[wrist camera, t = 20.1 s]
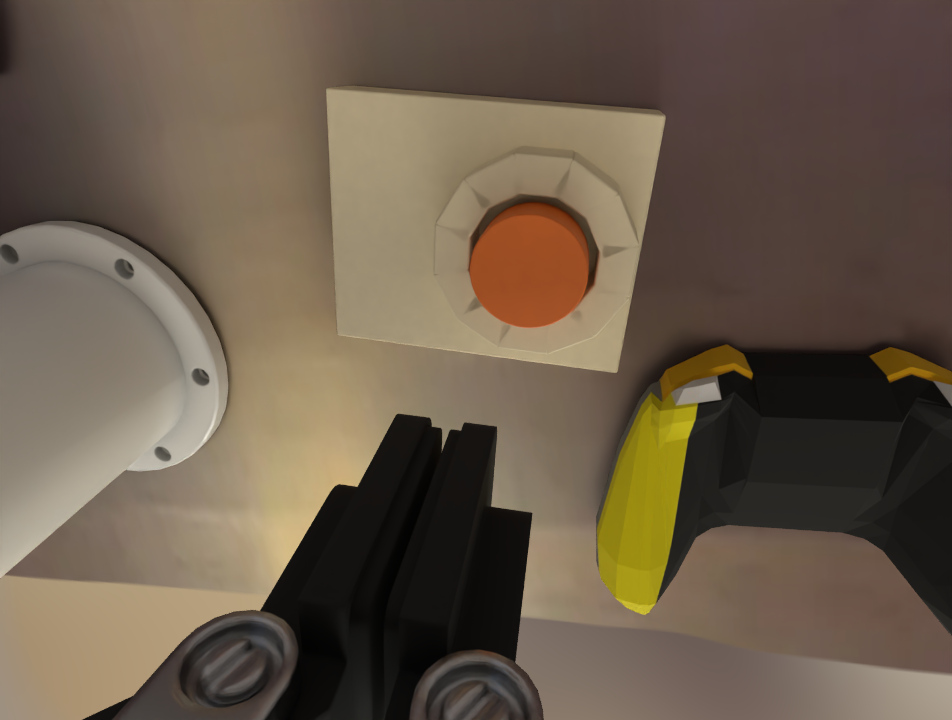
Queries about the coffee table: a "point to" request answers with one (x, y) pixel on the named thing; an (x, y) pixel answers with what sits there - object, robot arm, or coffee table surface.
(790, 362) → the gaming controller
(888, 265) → the coffee table surface
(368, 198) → the push button box
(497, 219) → the button
